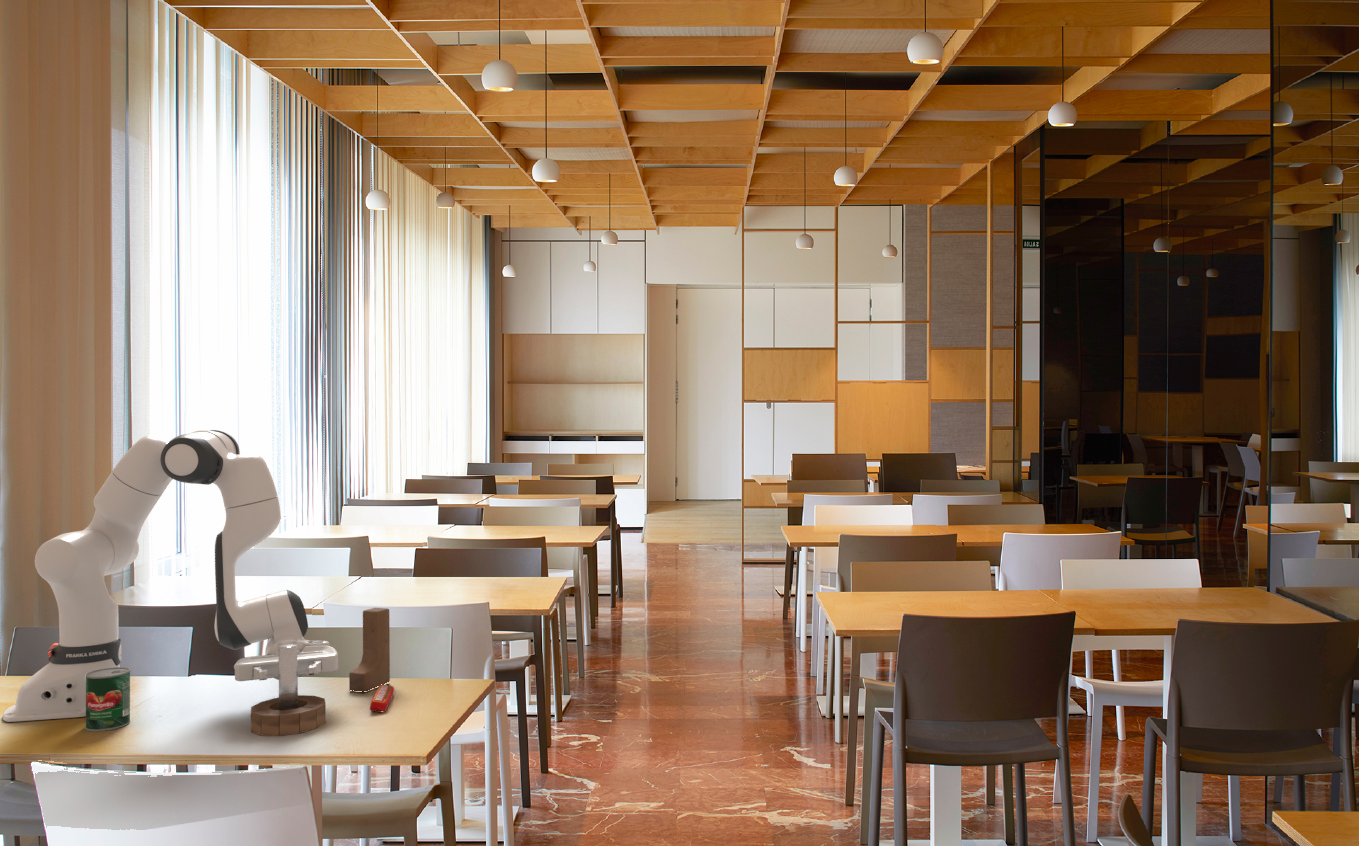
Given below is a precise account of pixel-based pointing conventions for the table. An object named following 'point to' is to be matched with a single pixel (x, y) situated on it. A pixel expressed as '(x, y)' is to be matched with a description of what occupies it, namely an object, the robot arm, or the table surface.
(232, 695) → the table surface
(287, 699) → the steel peg
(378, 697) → the candy bar
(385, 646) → the wooden block
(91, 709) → the canned tomato
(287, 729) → the walnut ring
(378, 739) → the table surface
